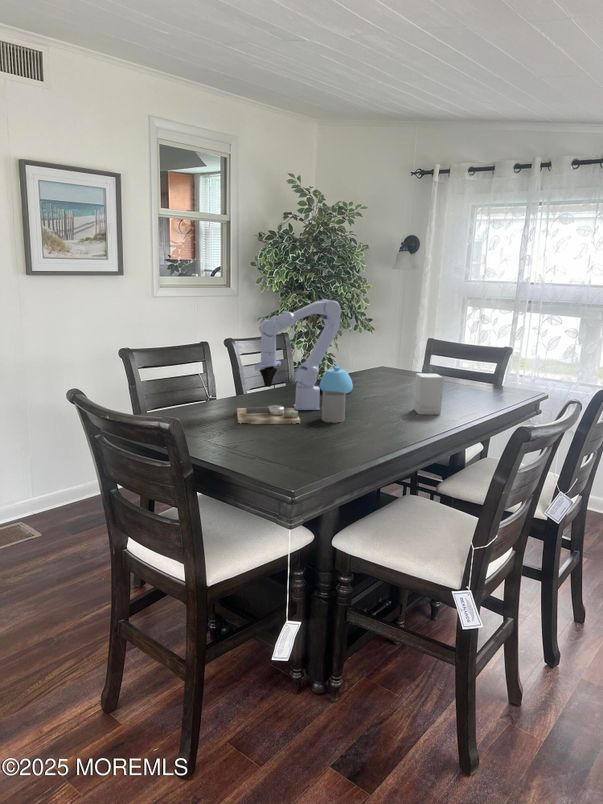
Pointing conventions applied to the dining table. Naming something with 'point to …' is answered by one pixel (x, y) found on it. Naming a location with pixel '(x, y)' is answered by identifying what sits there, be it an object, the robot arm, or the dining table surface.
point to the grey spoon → (266, 410)
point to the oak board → (268, 417)
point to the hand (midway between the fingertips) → (267, 386)
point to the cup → (333, 406)
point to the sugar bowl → (336, 381)
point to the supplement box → (428, 393)
